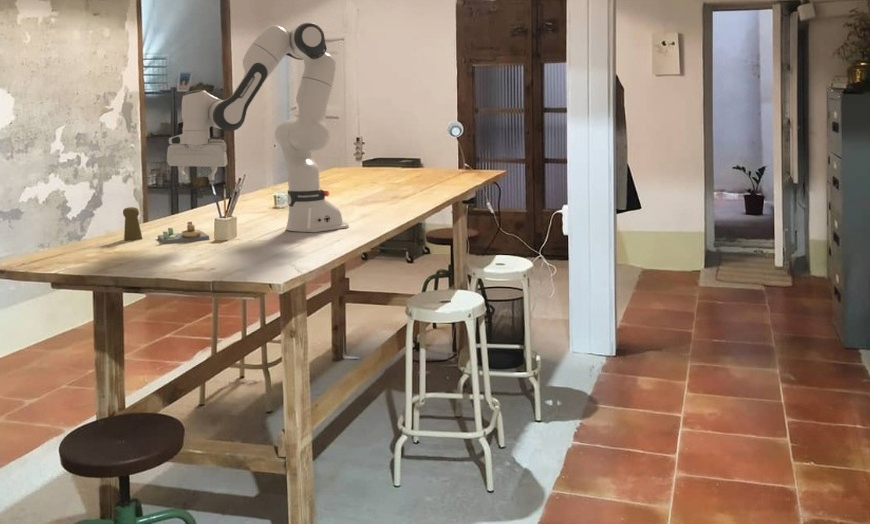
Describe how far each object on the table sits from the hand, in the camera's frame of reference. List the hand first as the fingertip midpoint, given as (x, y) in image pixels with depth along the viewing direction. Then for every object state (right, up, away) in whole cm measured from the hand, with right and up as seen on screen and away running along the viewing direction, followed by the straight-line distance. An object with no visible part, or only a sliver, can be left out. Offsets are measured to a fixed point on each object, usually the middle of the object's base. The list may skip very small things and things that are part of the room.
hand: (198, 179), depth 304 cm
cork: (-23, -20, +3) cm, 31 cm away
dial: (-3, -19, +1) cm, 19 cm away
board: (-5, -20, +2) cm, 21 cm away
